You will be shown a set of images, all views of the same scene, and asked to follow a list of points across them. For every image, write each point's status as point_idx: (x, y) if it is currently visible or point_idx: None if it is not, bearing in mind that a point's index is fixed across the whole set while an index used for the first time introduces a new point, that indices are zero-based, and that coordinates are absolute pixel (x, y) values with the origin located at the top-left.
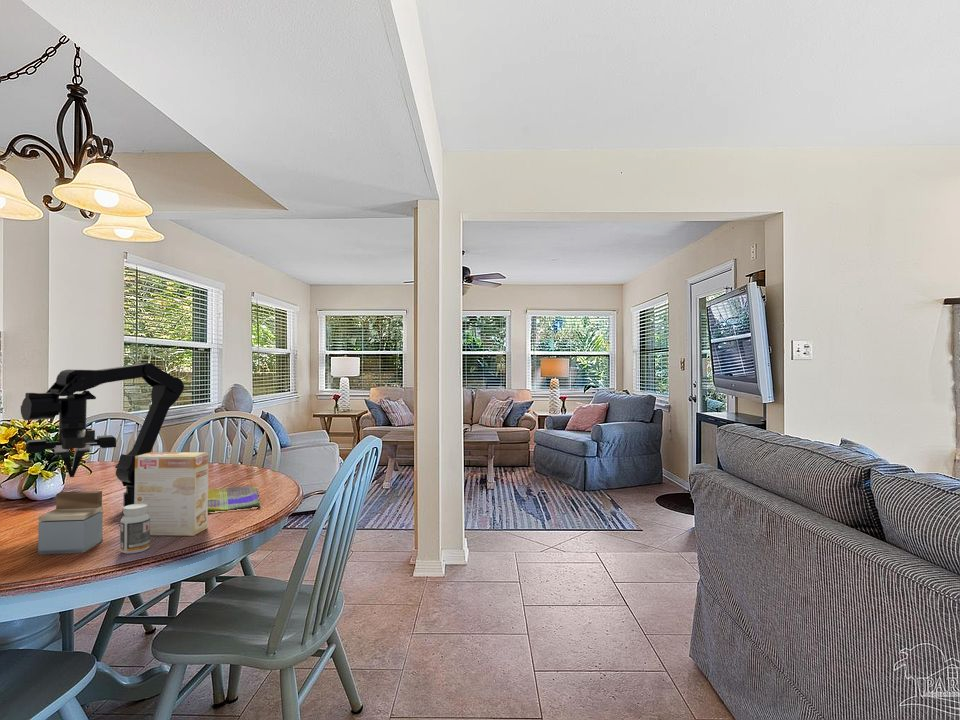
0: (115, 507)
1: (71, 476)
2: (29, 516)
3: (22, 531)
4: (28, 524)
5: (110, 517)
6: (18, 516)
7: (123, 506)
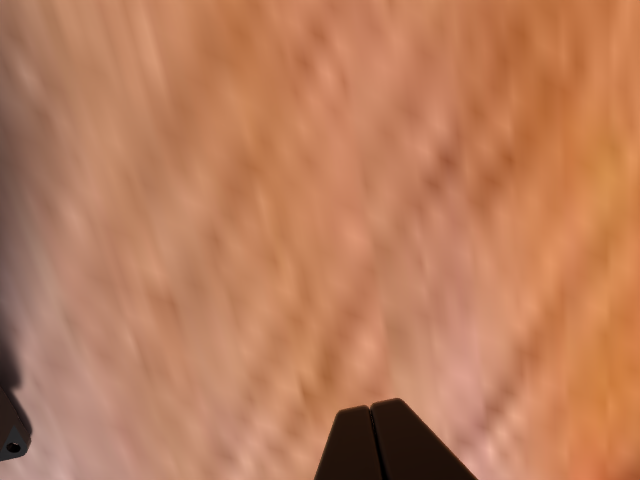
0: (104, 462)
1: (376, 402)
2: (582, 413)
3: (624, 11)
4: (586, 217)
5: (40, 198)
6: (636, 431)
7: (13, 410)
